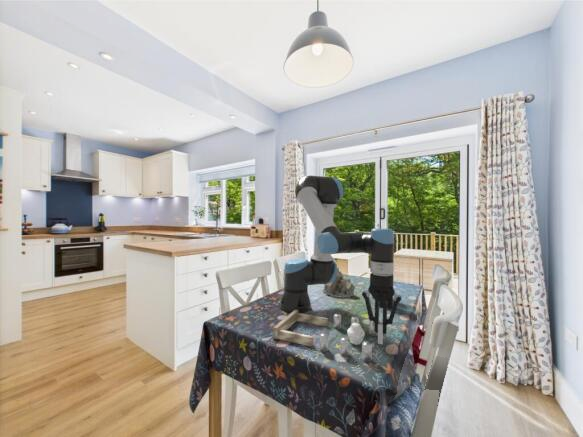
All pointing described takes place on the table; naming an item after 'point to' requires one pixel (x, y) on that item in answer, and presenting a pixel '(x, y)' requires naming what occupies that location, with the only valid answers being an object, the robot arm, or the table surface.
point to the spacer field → (345, 340)
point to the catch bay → (296, 337)
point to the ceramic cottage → (339, 287)
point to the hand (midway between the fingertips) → (380, 342)
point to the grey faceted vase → (355, 333)
